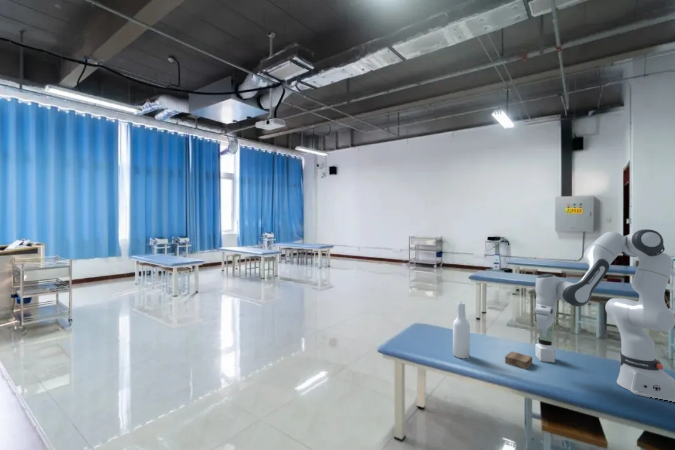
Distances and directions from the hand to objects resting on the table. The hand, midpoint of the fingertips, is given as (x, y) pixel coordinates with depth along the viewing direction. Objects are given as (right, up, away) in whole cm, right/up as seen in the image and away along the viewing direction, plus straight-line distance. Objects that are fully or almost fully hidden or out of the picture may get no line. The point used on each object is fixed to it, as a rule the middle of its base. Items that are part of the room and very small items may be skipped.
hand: (546, 334), depth 157 cm
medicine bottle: (+11, -20, +17) cm, 28 cm away
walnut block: (-7, -20, +12) cm, 24 cm away
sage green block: (0, -2, 0) cm, 2 cm away
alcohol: (-34, -19, +21) cm, 45 cm away
